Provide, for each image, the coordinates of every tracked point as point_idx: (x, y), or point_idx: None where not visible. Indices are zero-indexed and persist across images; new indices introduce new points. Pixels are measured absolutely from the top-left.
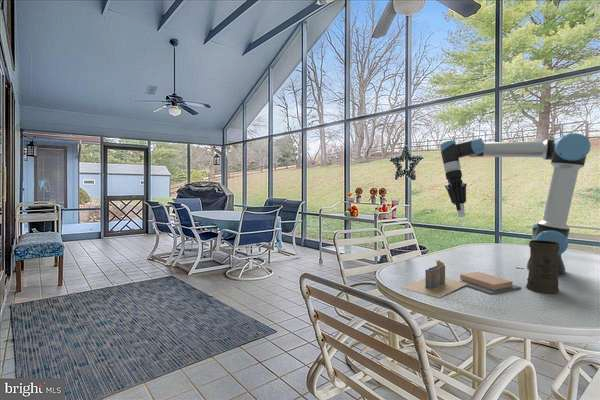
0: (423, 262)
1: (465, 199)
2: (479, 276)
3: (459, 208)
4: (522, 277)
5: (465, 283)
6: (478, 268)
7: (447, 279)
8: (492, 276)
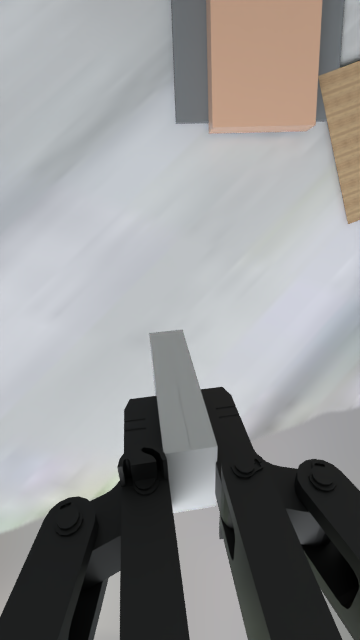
0: None
1: (53, 549)
2: (272, 63)
3: (221, 403)
4: (15, 63)
5: (329, 80)
6: (85, 251)
7: (344, 154)
8: (221, 36)
